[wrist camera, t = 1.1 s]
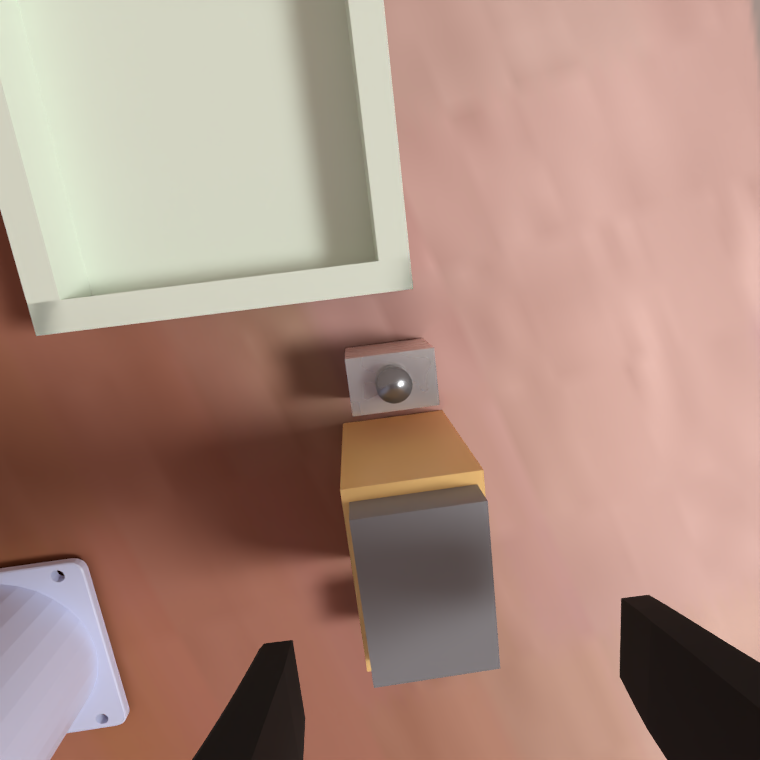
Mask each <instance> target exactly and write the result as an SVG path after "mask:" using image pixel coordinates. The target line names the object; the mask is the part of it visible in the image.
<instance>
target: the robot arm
mask: <svg viewBox="0 0 760 760" xmlns="http://www.w3.org/2000/svg"><path fill="white" fill-rule="evenodd" d="M57 570H58V571H61V572H63V573H64V575H65V576H62V575H60V574H59V573H58V572H57ZM620 678H621V680H622V682H623V684H624V686H625V688H626V690H627V692H628V694H629V696H630V698H631V699H632V701H633V703H634V705H635V707H636V709H637V711H638V713H639V715H640V716H641V718H642V720H643V722H644V724H645V726H646V728H647V729H648V731H649V732H650V734H651V736H652V737H653V739H654V740H655V742H656V743H657V745H658V746H659V748H660V749H661V751H662V752H663V754H664V755H665V757H666V759H667V760H760V663H759V662H758V661H756V660H754V659H753V658H751V657H749V656H748V655H746V654H745V653H743V652H741V651H740V650H738V649H736V648H735V647H733V646H731V645H730V644H728V643H726V642H725V641H723V640H722V639H720V638H718V637H717V636H715V635H714V634H712V633H710V632H709V631H707V630H705V629H704V628H702V627H701V626H699V625H697V624H696V623H694V622H693V621H691V620H689V619H688V618H686V617H685V616H683V615H681V614H680V613H678V612H677V611H675V610H673V609H672V608H670V607H668V606H667V605H665V604H663V603H662V602H660V601H658V600H657V599H655V598H653V597H651V596H650V595H644V596H636V597H628V598H621V642H620ZM128 713H129V706H128V702H127V699H126V695H125V692H124V689H123V685H122V682H121V678H120V675H119V671H118V668H117V665H116V661H115V658H114V654H113V651H112V647H111V644H110V641H109V637H108V634H107V630H106V627H105V623H104V620H103V617H102V613H101V610H100V606H99V603H98V599H97V596H96V593H95V589H94V586H93V582H92V579H91V576H90V572H89V569H88V566H87V564H86V563H85V562H84V561H83V560H80V559H78V558H70V559H63V560H56V561H49V562H42V563H35V564H28V565H21V566H13V567H6V568H0V760H50V759H51V758H52V756H53V754H54V753H55V751H56V749H57V748H58V746H59V745H60V743H61V741H62V740H63V738H64V737H65V735H66V733H71V732H77V731H84V730H90V729H97V728H103V727H110V726H116V725H120V724H122V723H123V722H124V721H125V719H126V717H127V715H128ZM103 714H105V715H103ZM304 732H305V714H304V708H303V702H302V696H301V690H300V683H299V677H298V671H297V665H296V659H295V652H294V646H293V640H290V641H282V642H274V643H266V644H263V646H262V647H261V648H260V649H259V651H258V653H257V655H256V656H255V658H254V660H253V662H252V664H251V665H250V667H249V669H248V671H247V672H246V674H245V676H244V678H243V679H242V681H241V683H240V685H239V686H238V688H237V690H236V691H235V693H234V695H233V696H232V698H231V700H230V702H229V703H228V705H227V706H226V708H225V710H224V711H223V713H222V714H221V716H220V718H219V719H218V721H217V722H216V724H215V726H214V727H213V729H212V730H211V732H210V734H209V735H208V737H207V738H206V740H205V741H204V743H203V744H202V746H201V747H200V749H199V750H198V752H197V753H196V755H195V756H194V758H193V759H192V760H303V752H304Z"/></svg>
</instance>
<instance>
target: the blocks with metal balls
mask: <svg viewBox="0 0 760 760" xmlns="http://www.w3.org/2000/svg"><path fill="white" fill-rule="evenodd" d="M345 365H346V372H347V379H348V386H349V394H350V401H351V408H352V415H353V416H361V415H368V414H376V413H383V412H391V411H398V410H406V409H413V408H421V407H428V406H436V405H439V394H438V384H437V373H436V363H435V352H434V347H433V346H432V345H430V344H429V343H428V342H427V341H426V340H424V339H423V338H419V339H411V340H403V341H396V342H388V343H380V344H372V345H364V346H357V347H349V348H345Z"/></svg>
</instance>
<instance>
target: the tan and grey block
mask: <svg viewBox="0 0 760 760" xmlns="http://www.w3.org/2000/svg"><path fill="white" fill-rule="evenodd" d="M340 493H341V500H342V506H343V513H344V520H345V526H346V533H347V540H348V546H349V553H350V560H351V566H352V573H353V579H354V586H355V593H356V599H357V606H358V613H359V619H360V626H361V633H362V639H363V646H364V652H365V659H366V666H367V672H368V671H372V678H373V685H374V688H376V687H383V686H389V685H396V684H402V683H409V682H415V681H422V680H428V679H435V678H441V677H448V676H454V675H461V674H467V673H474V672H480V671H487V670H493V669H500V660H499V646H498V633H497V620H496V606H495V593H494V580H493V567H492V553H491V540H490V527H489V514H488V501H487V499H486V498H485V485H484V472H483V469H482V467H481V466H480V464H479V463H478V461H477V460H476V459H475V457H474V456H473V454H472V453H471V451H470V450H469V448H468V447H467V445H466V444H465V443H464V441H463V440H462V438H461V437H460V435H459V434H458V432H457V431H456V429H455V428H454V427H453V425H452V424H451V422H450V421H449V419H448V418H447V416H446V415H445V413H444V412H443V411H442V410H440V411H432V412H425V413H417V414H410V415H403V416H395V417H388V418H380V419H373V420H365V421H358V422H350V423H343V437H342V458H341V479H340Z"/></svg>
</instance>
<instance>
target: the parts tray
mask: <svg viewBox="0 0 760 760" xmlns="http://www.w3.org/2000/svg"><path fill="white" fill-rule="evenodd" d="M0 210H1V214H2V217H3V221H4V224H5V228H6V231H7V235H8V238H9V242H10V245H11V249H12V252H13V256H14V259H15V263H16V266H17V270H18V273H19V277H20V280H21V284H22V288H23V291H24V295H25V298H26V302H27V305H28V309H29V312H30V316H31V319H32V323H33V326H34V330H35V333H36V336H40V335H48V334H56V333H64V332H72V331H80V330H88V329H96V328H104V327H112V326H120V325H128V324H136V323H144V322H152V321H160V320H168V319H176V318H184V317H192V316H200V315H208V314H216V313H224V312H232V311H240V310H248V309H256V308H264V307H272V306H280V305H288V304H296V303H304V302H312V301H320V300H328V299H336V298H344V297H352V296H360V295H368V294H376V293H384V292H392V291H400V290H408V289H413V283H412V274H411V264H410V254H409V244H408V235H407V225H406V215H405V205H404V196H403V186H402V176H401V166H400V157H399V147H398V137H397V127H396V118H395V108H394V98H393V88H392V79H391V69H390V59H389V49H388V40H387V30H386V20H385V10H384V0H0Z"/></svg>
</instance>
